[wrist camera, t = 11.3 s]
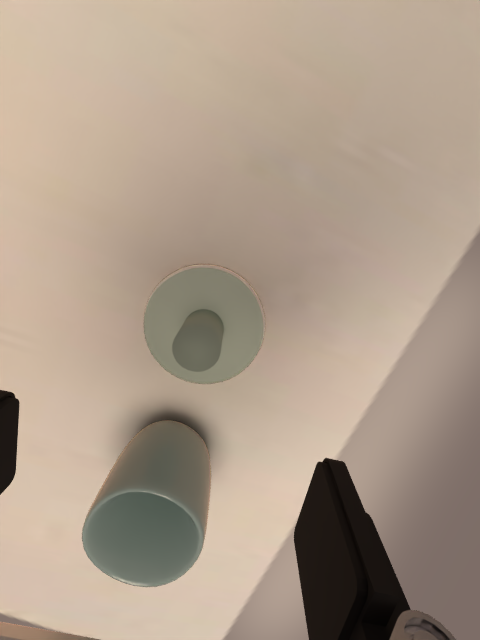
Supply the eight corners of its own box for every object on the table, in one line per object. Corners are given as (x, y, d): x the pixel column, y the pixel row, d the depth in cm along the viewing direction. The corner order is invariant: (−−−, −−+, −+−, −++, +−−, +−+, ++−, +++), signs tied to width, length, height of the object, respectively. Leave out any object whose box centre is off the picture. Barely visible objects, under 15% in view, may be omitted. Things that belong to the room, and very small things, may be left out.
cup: (231, 436, 31) (227, 529, 21) (184, 494, 32) (161, 605, 23) (159, 391, 30) (120, 467, 20) (114, 453, 31) (58, 552, 22)
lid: (221, 243, 26) (217, 245, 20) (284, 342, 28) (296, 369, 22) (122, 308, 27) (92, 328, 22) (190, 399, 29) (178, 438, 24)
